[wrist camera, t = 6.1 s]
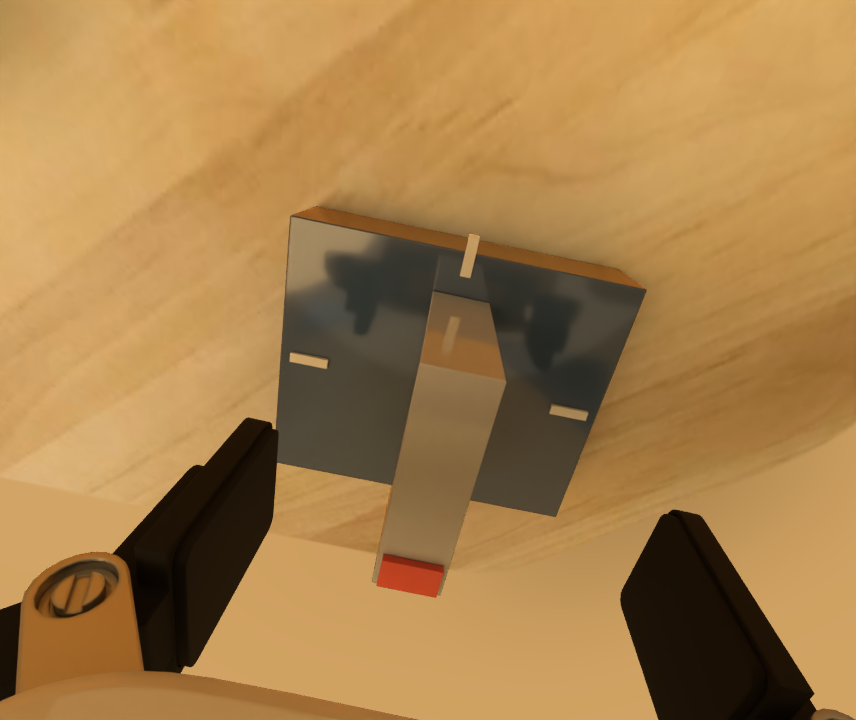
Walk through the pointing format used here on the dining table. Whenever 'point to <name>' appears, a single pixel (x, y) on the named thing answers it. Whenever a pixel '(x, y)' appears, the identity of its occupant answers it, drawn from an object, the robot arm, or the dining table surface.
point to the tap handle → (440, 444)
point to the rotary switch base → (402, 336)
